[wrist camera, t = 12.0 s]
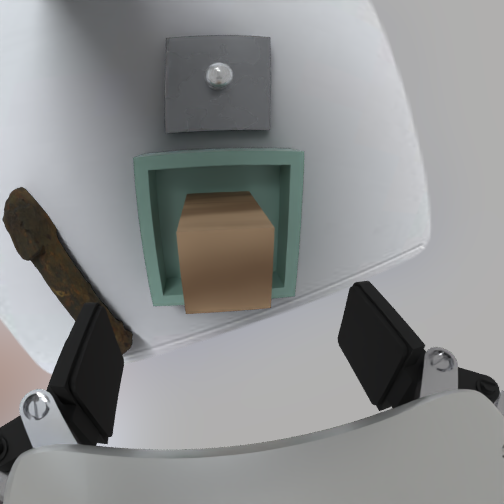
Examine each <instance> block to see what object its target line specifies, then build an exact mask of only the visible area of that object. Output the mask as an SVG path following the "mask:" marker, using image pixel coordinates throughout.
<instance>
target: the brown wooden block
mask: <svg viewBox="0 0 504 504" xmlns="http://www.w3.org/2000/svg"><path fill="white" fill-rule="evenodd" d="M274 230H275V227H274V226H273V225H272V223H271V222H270V220H269V219H268V217H267V216H266V215H265V213H264V212H263V210H262V209H261V207H260V206H259V205H258V203H257V202H256V200H255V199H254V197H253V196H252V195H251V193H250V192H249V191H239V192H212V193H192V194H187V196H186V199H185V203H184V206H183V210H182V213H181V217H180V221H179V224H178V228H177V232H176V234H177V244H178V254H179V264H180V273H181V281H182V289H183V297H184V304H185V311H186V314H194V313H211V312H227V311H240V310H253V309H264V308H271V295H272V275H273V254H274Z"/></svg>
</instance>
